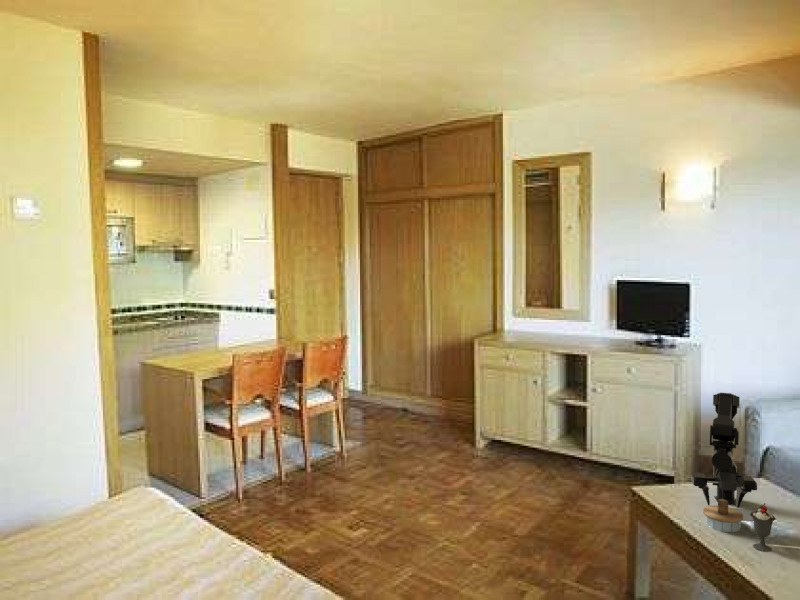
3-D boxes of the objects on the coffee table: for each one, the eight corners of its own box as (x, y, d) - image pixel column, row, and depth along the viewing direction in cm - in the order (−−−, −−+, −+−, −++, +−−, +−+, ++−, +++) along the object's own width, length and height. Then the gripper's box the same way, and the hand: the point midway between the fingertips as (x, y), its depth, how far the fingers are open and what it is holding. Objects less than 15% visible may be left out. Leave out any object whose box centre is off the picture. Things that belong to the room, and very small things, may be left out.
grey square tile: (724, 509, 207) (724, 507, 207) (756, 511, 204) (756, 509, 204) (732, 521, 198) (732, 519, 197) (765, 524, 195) (765, 522, 195)
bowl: (702, 518, 200) (703, 507, 200) (735, 521, 197) (735, 510, 197) (709, 531, 190) (709, 520, 190) (744, 535, 188) (744, 523, 187)
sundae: (763, 554, 175) (763, 506, 174) (744, 544, 182) (745, 497, 181) (780, 551, 177) (781, 503, 176) (761, 541, 183) (762, 495, 182)
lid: (700, 506, 201) (700, 492, 200) (737, 509, 197) (737, 495, 197) (707, 520, 190) (707, 506, 189) (747, 524, 186) (747, 509, 186)
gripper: (697, 466, 187) (697, 513, 188) (762, 471, 182) (762, 519, 183) (690, 455, 198) (690, 500, 199) (752, 459, 193) (751, 504, 194)
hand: (723, 506), depth 193 cm, fingers open, 8 cm apart
